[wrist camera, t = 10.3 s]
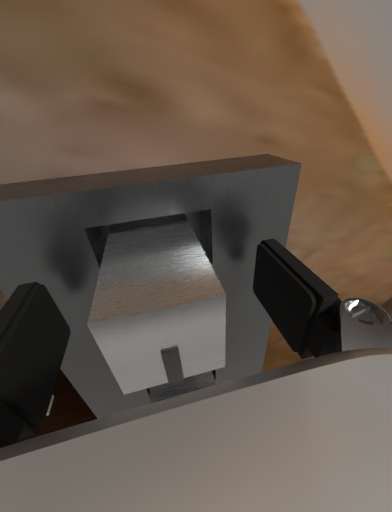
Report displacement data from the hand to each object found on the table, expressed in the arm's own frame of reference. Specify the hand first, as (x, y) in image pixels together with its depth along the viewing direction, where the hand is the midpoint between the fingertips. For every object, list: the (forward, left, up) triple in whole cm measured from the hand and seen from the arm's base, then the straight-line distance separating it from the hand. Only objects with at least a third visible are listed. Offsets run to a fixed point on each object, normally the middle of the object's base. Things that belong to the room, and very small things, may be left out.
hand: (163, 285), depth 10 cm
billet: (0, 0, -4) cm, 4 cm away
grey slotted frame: (+5, 0, -4) cm, 6 cm away
